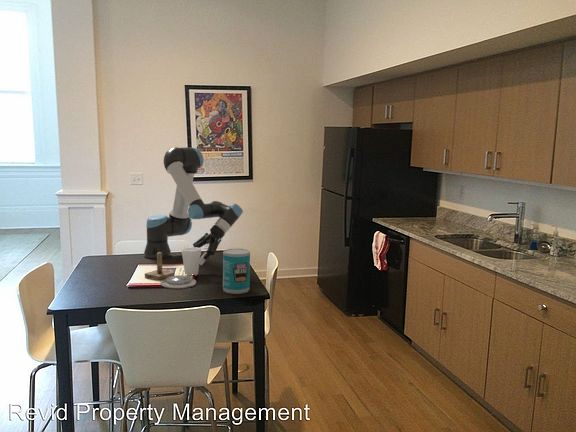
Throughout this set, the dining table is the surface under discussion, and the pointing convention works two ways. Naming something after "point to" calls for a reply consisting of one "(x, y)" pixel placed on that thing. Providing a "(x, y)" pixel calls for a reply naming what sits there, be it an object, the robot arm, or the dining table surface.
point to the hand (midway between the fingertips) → (193, 261)
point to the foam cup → (191, 259)
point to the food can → (236, 271)
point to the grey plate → (178, 282)
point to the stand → (159, 271)
